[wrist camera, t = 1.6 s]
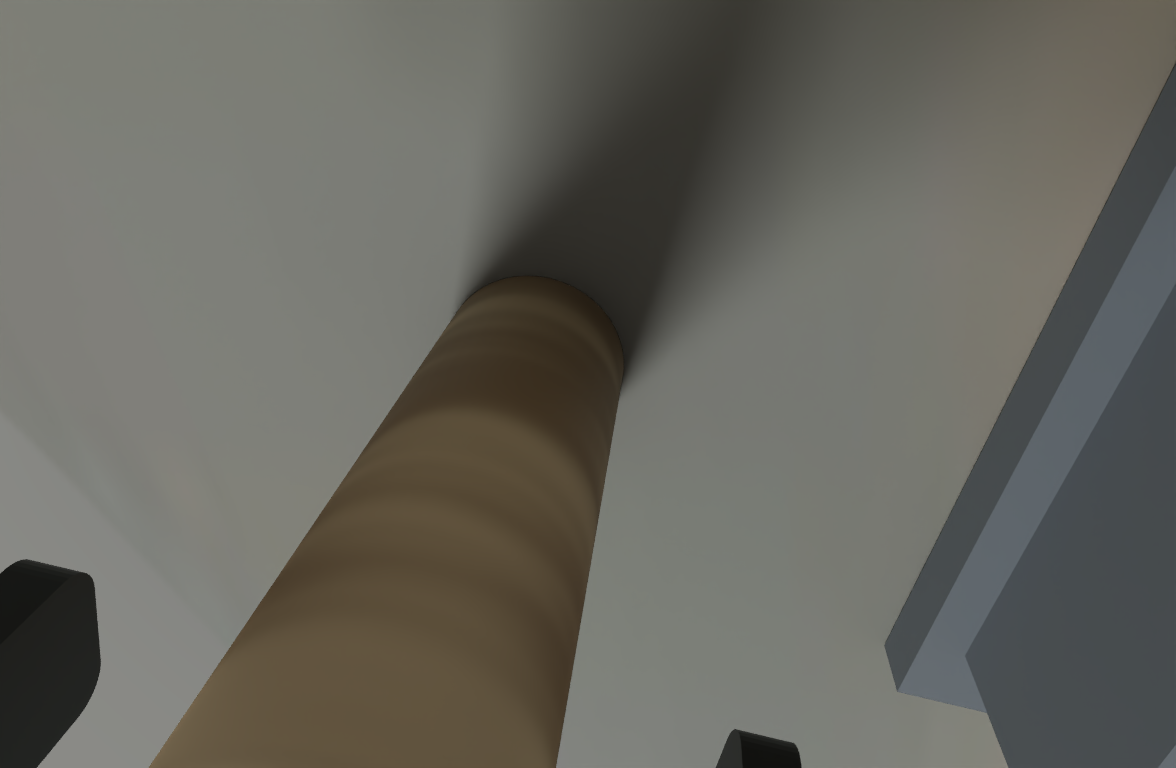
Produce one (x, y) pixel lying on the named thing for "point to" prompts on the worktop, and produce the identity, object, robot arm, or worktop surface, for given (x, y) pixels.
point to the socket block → (1073, 512)
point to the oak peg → (437, 563)
